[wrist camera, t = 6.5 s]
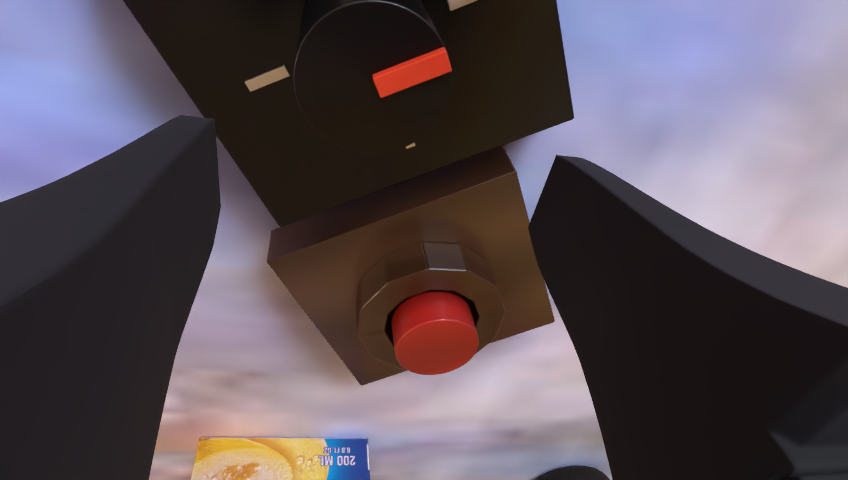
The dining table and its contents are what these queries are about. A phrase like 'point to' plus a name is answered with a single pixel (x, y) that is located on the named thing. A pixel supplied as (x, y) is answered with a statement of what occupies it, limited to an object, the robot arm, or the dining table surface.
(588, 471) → the cola bottle
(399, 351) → the power button
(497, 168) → the switch block
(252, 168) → the dial panel
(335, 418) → the dining table surface
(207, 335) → the dining table surface
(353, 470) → the beverage box
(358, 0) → the timer dial
